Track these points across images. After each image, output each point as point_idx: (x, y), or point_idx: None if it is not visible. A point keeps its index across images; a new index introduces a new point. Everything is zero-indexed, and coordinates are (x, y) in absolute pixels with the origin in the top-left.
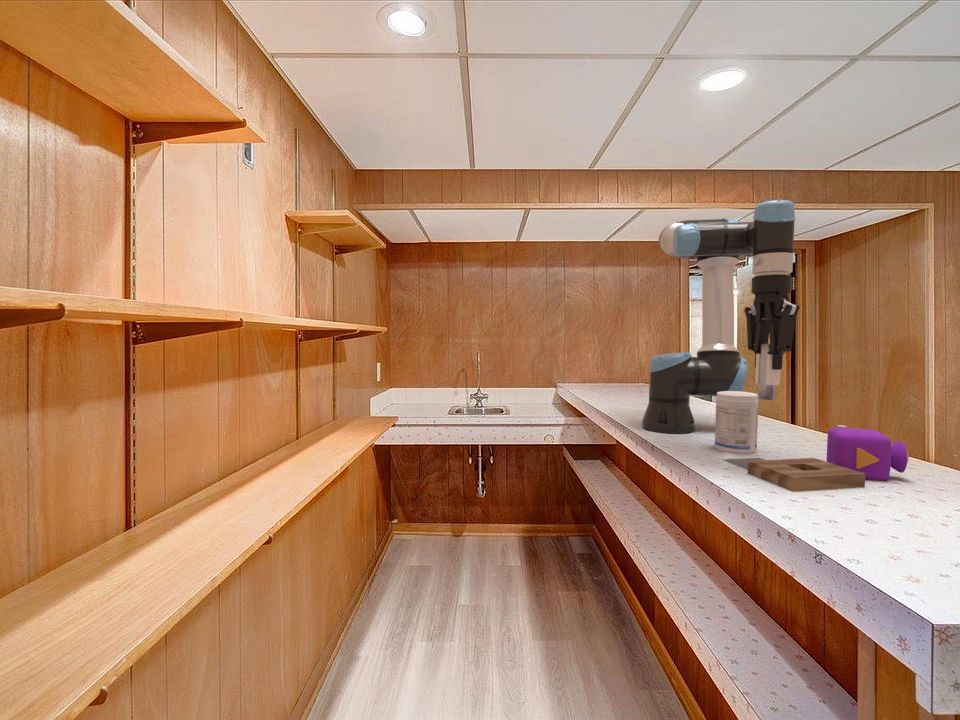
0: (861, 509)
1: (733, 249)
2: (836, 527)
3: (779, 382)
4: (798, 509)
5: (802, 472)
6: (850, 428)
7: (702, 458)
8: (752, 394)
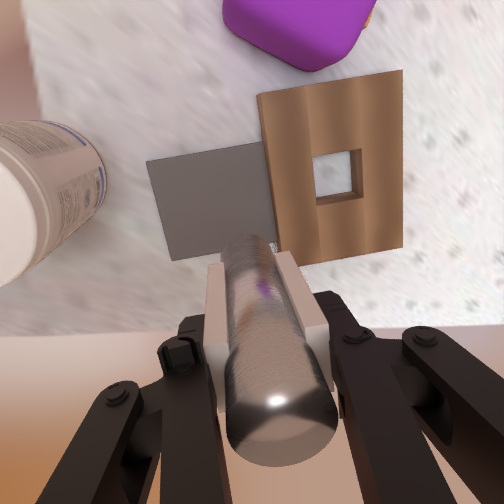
0: (475, 176)
1: None
2: None
3: (290, 255)
4: (451, 273)
5: (375, 209)
6: None
7: (148, 288)
8: None
